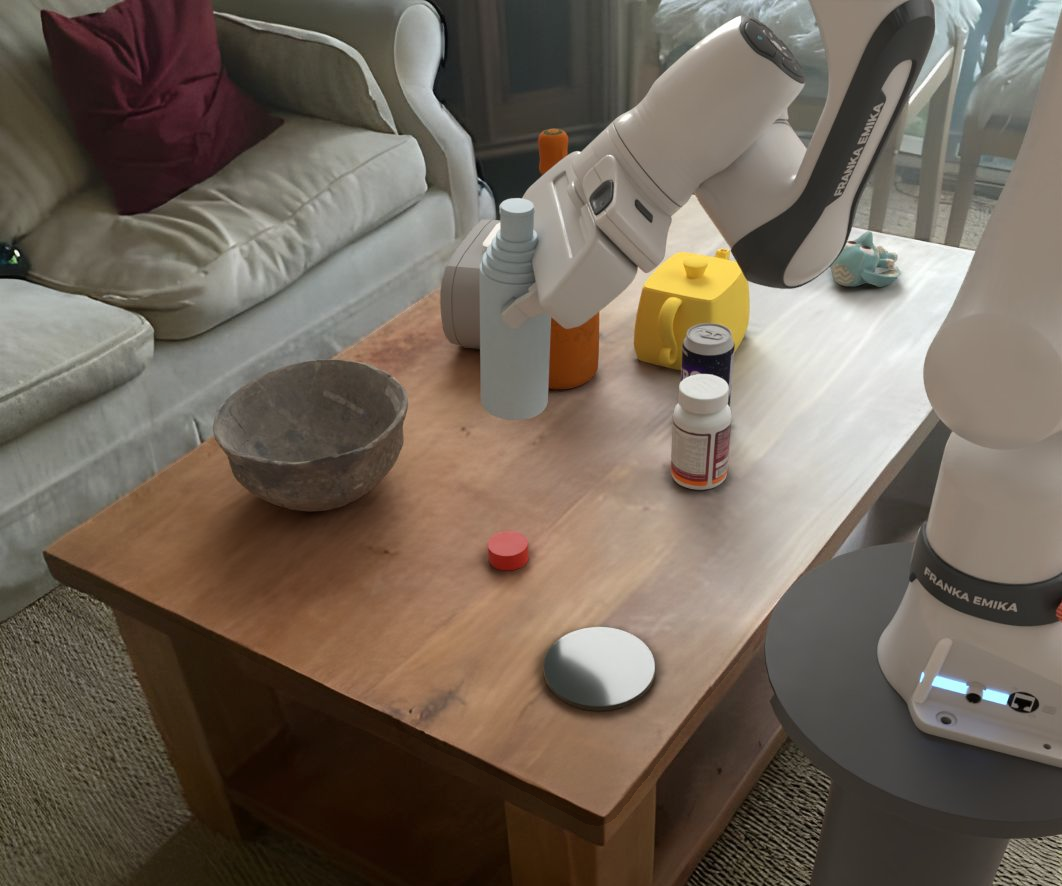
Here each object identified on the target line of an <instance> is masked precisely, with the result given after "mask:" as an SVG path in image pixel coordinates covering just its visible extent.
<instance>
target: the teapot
mask: <svg viewBox="0 0 1062 886" xmlns="http://www.w3.org/2000/svg"><path fill="white" fill-rule="evenodd" d="M730 256H731V249H728V248H722V247H721V248H719V249H717V250H716V251H715V255H714V256H710V255H706V254H705V255H703V254H700V253H693V252H687V251H679V252H675V253H674V254H672V255H671V256H670V257H669V258H667V259H666V260H665V261H663V262H661V263H660V264H659V265H658V266H657V267H656V268H655V269H654V270H653V272H652V273H651V274H650V276H649V277H648V278H647V279H646V281H645V282H644V283H643V285H642V288H641V292H640V296H639V301H638V304H637V305H638V306H637V311H636V316H635V322H634V331H633V348H634V352H635V355H636V358H637V360H638V361H641V362H644V363H647V364H652V365H656V366H660V367H663V368H664V367H665V368H668V369H672V370H675V371H680V372H681V368H682V347H683V341H684V339H685V338H686V336H687V331H688V330H689V329H690V328H691V327H693V326H695V325H698V324H703V323H715V324H720V325H723V326H725V327H727V328H728V329H729V330H730V331H731V333H732V339H733V341H734V343H735V348H734V354H735V353H736V351H737V350H738V349H739V347H740V345H741V343H742V342H743V340H744V337H745V335H746V333H747V331H748V327H749V322H750V308H751V306H750V305H751V304H750V303H751V301H750V286H749V281H747V280H746V278H745V276H744V274H743V273H742V271H741V269H740V267H739V265H738V264H737V262H736V260H731V259H730Z"/></svg>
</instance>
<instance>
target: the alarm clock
mask: <svg viewBox="0 0 1062 886" xmlns="http://www.w3.org/2000/svg"><path fill="white" fill-rule="evenodd" d="M498 230H500V219H499V220H498V219H487V218H485V219H484V218H483V219H481V220H480V221H479V222H478V223H477V224H475V226H473V227H472V228H471V229H470V230H469V232H468V234H467V235H466V236H465V238H464V239H463V241H462V242H461V243H460V244H459V246H458V247H457V248H456V249H455V250H454V252H453V253H452V254H451V256H450V258H449V260H448V261H447V262H446V265H445V266H444V269H443V273H442V277H441V284H440V290H439V291H440V294H439V295H440V297H439V299H440V301H439V305H440V317H441V318H440V319H441V324H442V325H441V326H442V329H443V332H444V336H445V338H446V340H447V341H448V342H449V343H450V344H452V345H457V346H463V348H467V349H475V350H480V276H479V267H480V263H481V262H482V256H483V254H484V253H485V252H486V251H487V248H488V246H489V245H490V244H491V242H492V240H493V238H494V237H496V234H497V232H498Z"/></svg>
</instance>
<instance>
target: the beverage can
mask: <svg viewBox="0 0 1062 886" xmlns="http://www.w3.org/2000/svg"><path fill="white" fill-rule="evenodd" d="M734 348H735V343H734V341H733V339H732V333H731V331H730V330H729V329H728V328H727V327H725V326H723V325H720V324H715V323H703V324H698V325H695V326H693V327H691V328H690V329H689V330H688V331H687V336H686V338H685V339H684V341H683V347H682V368H681V371H680V382H681V381H682V380H683V379H685V378H687V377H689V376H692V375H696V374H710V375H715V376H718V377H720V378H722V379H723V380H725V381H726V382H727V384H728V386H729V393H728V406H729V407H730V406H731V397H732V396H731V395H732V383H733V371H734V361H735V360H734V358H735V353H734ZM730 408H731V407H730Z"/></svg>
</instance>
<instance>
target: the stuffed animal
mask: <svg viewBox="0 0 1062 886" xmlns="http://www.w3.org/2000/svg"><path fill="white" fill-rule="evenodd" d="M873 237H874V235H873V232H872V231H871V230H870V231H869V230H868V231H865V232H864V233H862V234H861V235H860V236H859V237H857V238H855V239H854V240H848V241H847V243H846V245H845V247H844V249H843V251H842V252H841V254H840V255H839V257H838V258H837V259H836V260H835V261H834V263H833V264H832V265H831V266H830V267H829V269H830V272H831V275H832V278H833V280H834V281H835V282H836V283H837V284H838V285H840V286H843V287H858V286H861V285H863V284H866V283H867V284H869V285H873V286H875V287H878V288H883V287H886V286H889V285H892V284H893V283H894V282H895V281H896V280H897V279H898V277H899V276H900V275H901V270H900V269H899V267H898V266H896V267H895V264H896V262H897V261H898V259H899V255H898V254H897V253H896V252H889V250H888V249H886V248H884V247H883V246H882V245H877V246H876V245H875V244H874V238H873ZM879 268H881V269H882V268H883V269H887V270H885V271H882V272H879V273H877V272H876V270H877V269H879Z"/></svg>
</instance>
